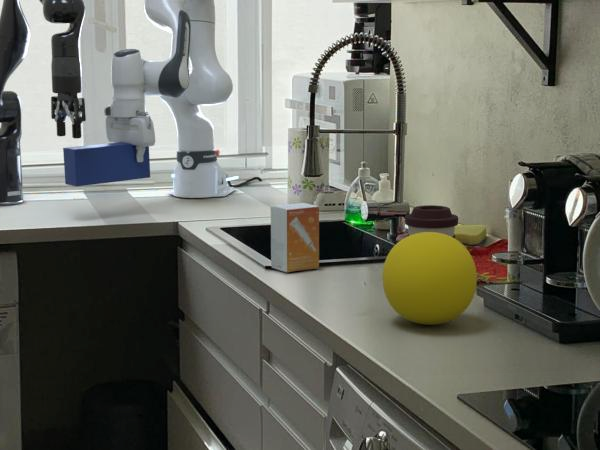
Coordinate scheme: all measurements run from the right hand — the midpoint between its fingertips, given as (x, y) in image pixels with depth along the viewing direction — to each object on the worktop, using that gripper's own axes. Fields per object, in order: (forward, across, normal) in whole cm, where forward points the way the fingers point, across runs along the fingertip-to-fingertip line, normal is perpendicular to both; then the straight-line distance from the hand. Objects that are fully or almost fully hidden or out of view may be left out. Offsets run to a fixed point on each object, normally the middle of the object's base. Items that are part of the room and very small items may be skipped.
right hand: (131, 160), depth 286 cm
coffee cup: (+14, -116, +4) cm, 116 cm away
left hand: (-8, 0, +19) cm, 20 cm away
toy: (+13, -134, +24) cm, 137 cm away
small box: (+14, -86, +13) cm, 88 cm away
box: (+5, 0, +8) cm, 9 cm away
